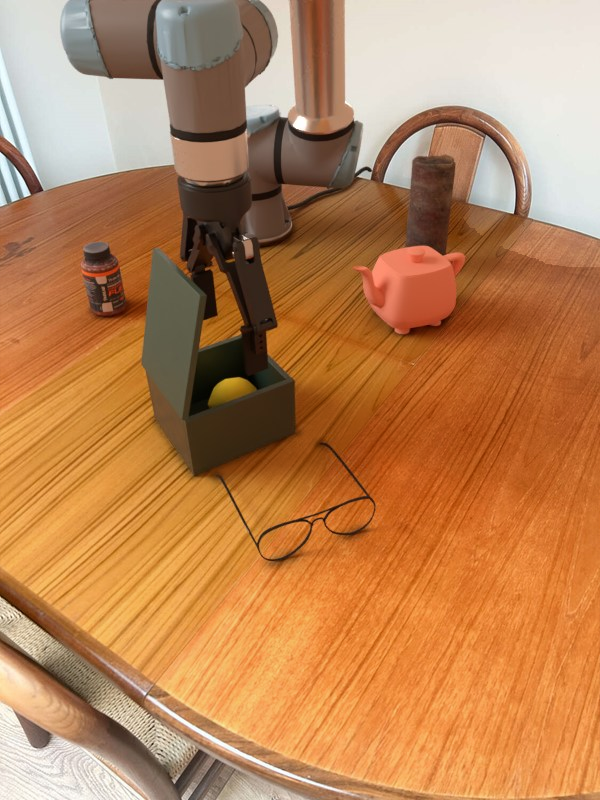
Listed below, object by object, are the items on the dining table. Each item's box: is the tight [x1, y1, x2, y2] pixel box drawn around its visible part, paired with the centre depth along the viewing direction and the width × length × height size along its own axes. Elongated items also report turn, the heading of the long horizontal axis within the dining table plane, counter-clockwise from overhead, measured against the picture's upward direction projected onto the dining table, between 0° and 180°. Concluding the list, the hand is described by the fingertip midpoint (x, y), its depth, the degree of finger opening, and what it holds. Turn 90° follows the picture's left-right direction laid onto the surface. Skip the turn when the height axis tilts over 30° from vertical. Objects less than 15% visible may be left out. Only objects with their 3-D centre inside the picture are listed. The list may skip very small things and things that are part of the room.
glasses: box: [215, 442, 377, 562], centre depth 76 cm, size 14×15×5 cm
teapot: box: [352, 246, 466, 335], centre depth 104 cm, size 20×12×12 cm, turn 113°
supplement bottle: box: [80, 241, 127, 317], centre depth 107 cm, size 6×6×11 cm
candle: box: [404, 153, 457, 256], centre depth 114 cm, size 8×7×20 cm
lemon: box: [208, 377, 257, 408], centre depth 86 cm, size 7×5×5 cm
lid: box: [140, 247, 207, 420], centre depth 74 cm, size 15×13×1 cm
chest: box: [144, 333, 296, 477], centre depth 84 cm, size 15×13×9 cm
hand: (230, 342), depth 81 cm, fingers open, 13 cm apart
